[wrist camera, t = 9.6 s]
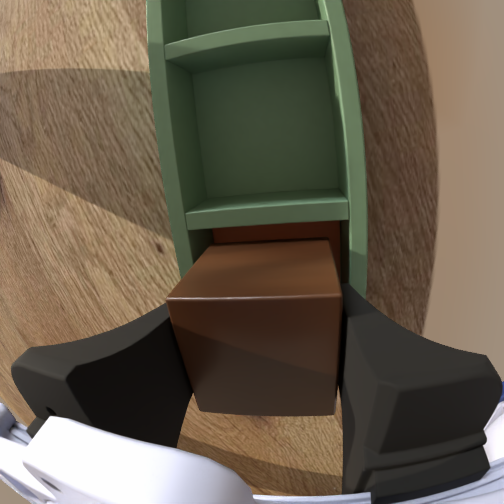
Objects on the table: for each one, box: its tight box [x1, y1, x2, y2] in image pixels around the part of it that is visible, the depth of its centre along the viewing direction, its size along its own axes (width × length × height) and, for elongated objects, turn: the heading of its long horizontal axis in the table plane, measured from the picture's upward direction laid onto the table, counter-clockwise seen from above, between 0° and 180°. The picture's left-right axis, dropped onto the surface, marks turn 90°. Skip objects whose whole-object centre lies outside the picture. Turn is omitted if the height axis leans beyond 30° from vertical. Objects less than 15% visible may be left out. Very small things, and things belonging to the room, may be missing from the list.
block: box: [166, 237, 343, 416], centre depth 10 cm, size 5×5×5 cm
